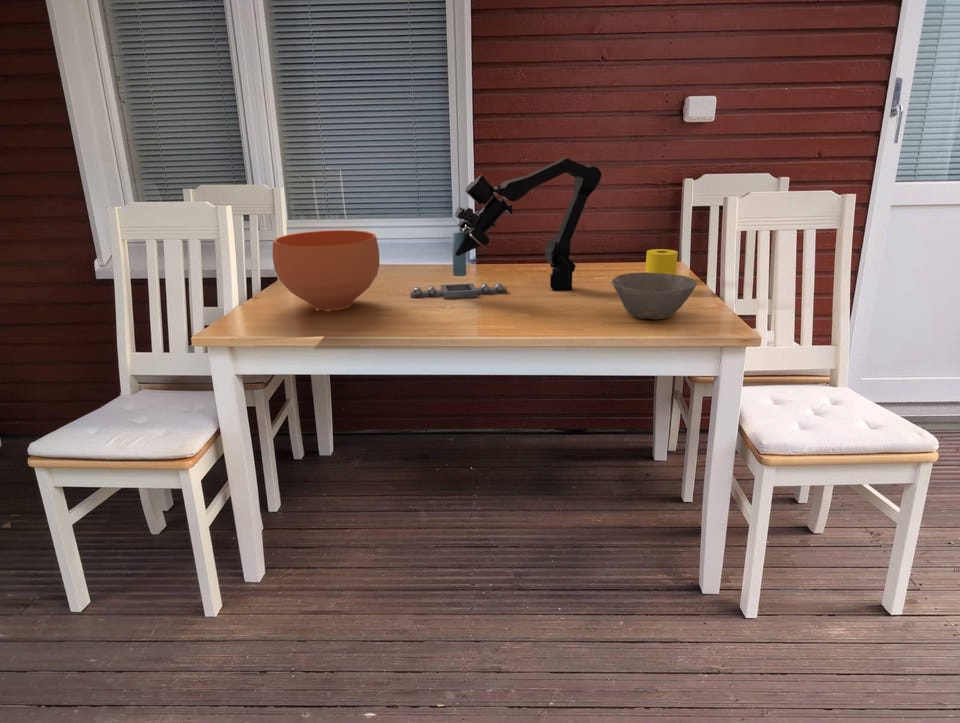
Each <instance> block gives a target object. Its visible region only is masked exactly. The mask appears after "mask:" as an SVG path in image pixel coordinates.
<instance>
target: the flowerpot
mask: <svg viewBox="0 0 960 723" xmlns="http://www.w3.org/2000/svg"><path fill="white" fill-rule="evenodd" d="M272 261H273V262H272V263H273V269H274V271H275V273H276V276H277V277H278V280H279V282H280V283H281V284H283V285H284V287H285V288H286V289H287V290H288V291H289V292H290V293H291V294H293V295H294V296H296V297H297V298H299V299H302V300H303V301H304V302H306V303H308V304H310V305H311V306H312V309H313V308H315V309H318V310H338V311H341V310H340V309H343V310H345V309H344V308H347V307H349V308H351V307H352V303H353V302H354V301H356V299H358V298H359V297H360V296H361V295H362V294H363V293H365V291H367V290H368V289H370V287H371V286H372V284H373V283H374V281H375V279H376V277H377V276H378V271H379V267H380V248H379V244H378V239H377V235H376V233H373V232H371V231H370V232H369V231H365V230H357V229H354V230H353V229H351V230H350V229H348V230H347V229H335V230H334V229H332V230H330V229H328V230H327V229H326V230H315V231H301V232H297V233H290V234H286V235H285V234H284V235H281V236H278V237H276V238H275V239H274V240H273V242H272ZM350 306H351V307H350ZM315 309H314V310H315ZM347 309H348V308H347ZM318 310H317V311H318Z"/></svg>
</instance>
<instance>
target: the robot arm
mask: <svg viewBox="0 0 960 723" xmlns="http://www.w3.org/2000/svg"><path fill="white" fill-rule="evenodd" d="M563 174H567V175H569V176H571V177H574V180H573V193H572V196H571V199H570V202H569V204H568V206H567V208H566V211H565V214H564V217H563V220H562V222H561V225H560V228H559V230H558V233H557V235H556V236H555V237H554V238H553V239H551V238H548V240H547V243H546V244H547V245H546V247H545V248H544V250H543V251H544V258H545V260H546V261H547V262H548V263H549V265H550V268H552V269H551V270H552V271H551V273H550V275H549V277H550V278H549V284H550V285H549V287H550V288H551V290H552V291H573V290H574V288H573V272H575V269H576V266H577V265H576V264H575V263H574V261H572V260H571V259H570V255H571V251H572V250H571V248H572V246H571V244H572V242H571V241H572V238H573V236H574V233H575V230H576V228H577V226H578V223H579V221H580V218H581V216H582V213H583V211H584V208H585V205H586V203H587V201H588V198H589V197H590V196H591V194H593V192H594V191H595V190H596V188H597V187H598V186H599V183H600V182H601V179H602V173H601V170H600V169H599V168H598V167H597V166H592V165H585V164H581V163H580V162H576V161H573V160H572V159H570V158H567V157H562V158H559V159H557V161H554V162H552V163H550V164H548V165H546V166H544V167H542V168H540V169H538V170H536V171H534V172H531V173H530V174H526V175H524V176H519V177H516V178H512V179H509V180H505V181H503V182H501V183H500V184H499V185H496V186H495V185H493V186H492V185H491V183H490V182H488V181H487V179H486V178H485V177H484V176H483V175H482V174H481V175H479V176H478V177H476V178H475V179H473V181H471V182H470V183H469V184H468V185H467V187H466V188H465V190H464V192H465V193H466V194H467V195H468V196H469V197H470V198H472V200H473V201H474V202H475V203H476V204H477V205H481V204H482V205H484V206H483V207H482V208H481V209H480V210H476V211H475V212H474V209H473V208H471V207H468V206H467V207H466V208H463V207H461V206H458V207H457V208H456V212H455V214H454V217H455V218H457V219H459V220H461V221H459V223H458V224H457V226H458V230H459V231H462V232H465V239H464V241H463V242H462V244H461V245H460V247H459V248H458V250H457V251H456V253H455V254H456V255H457V256H459V255H461V254H464V253H466V254H467V253H468V252H471V251H473V250H475V249H477V248H479V247H481V246H483V247H484V248H486V247H487V246H488V245H489V243H490V237H489V236H488V235H486V234H487V233H488V231H489V230H490V229H491V228H495V226H496V224H495V223H497V221H498V220H499V219H500V218H501V217H502V216H503V215H504V214H505V212H507V214H509V215H513V212H514V211H513V204H511V203H507V202H506V201H505V200H507V201H509V202H517V201H519V200H521V199H522V198H523V197H524V196H526V195H527V194H528V193H529V192H530V191H531V190H533V189H535V188H537V187H539V186H540V185H542V184H544V183H546V182H549V181H551V180H554V179H556V178H557V177H559V176H562V175H563ZM496 195H497V196H499V197H501V198H497V197H496ZM452 253H453V250H452Z"/></svg>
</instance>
